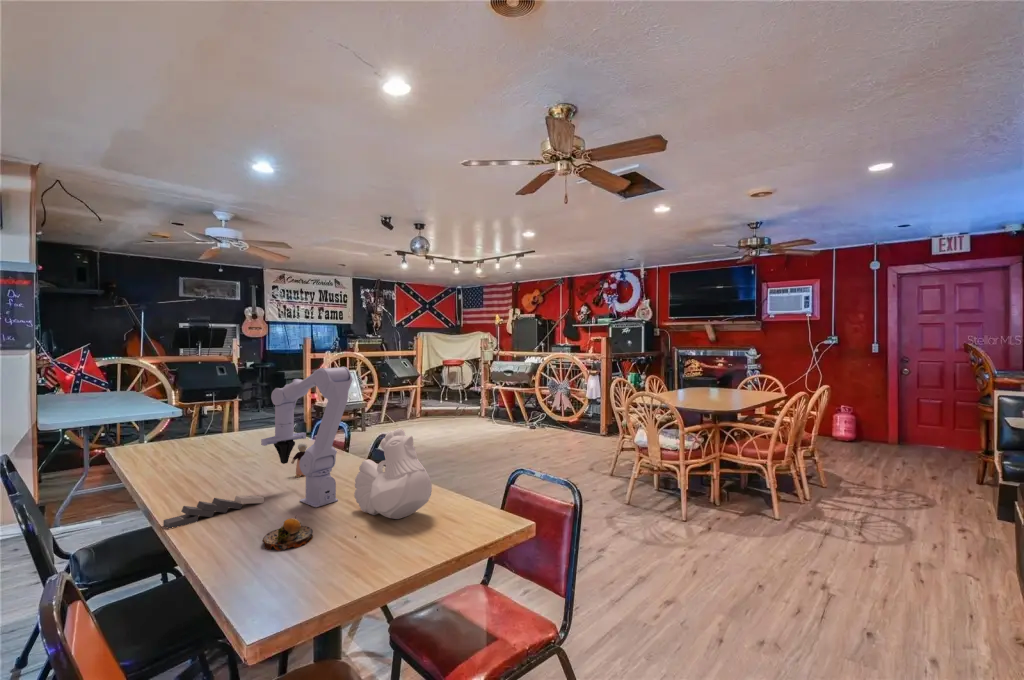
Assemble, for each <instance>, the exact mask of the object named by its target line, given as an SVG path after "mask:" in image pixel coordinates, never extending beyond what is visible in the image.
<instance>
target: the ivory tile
mask: <svg viewBox="0 0 1024 680" xmlns="http://www.w3.org/2000/svg"><path fill="white" fill-rule="evenodd" d="M264 500H265V497H264V496H260V495H256V494H255V495H254V494H253V495H252V494H251V495H235V498H234V500H233V501H235V502H238V503H240V504H243V505H244V504H263V503H264Z"/></svg>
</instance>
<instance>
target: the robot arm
mask: <svg viewBox="0 0 1024 680" xmlns="http://www.w3.org/2000/svg"><path fill="white" fill-rule="evenodd" d="M353 379H354V378H353V377H352V373H351V371H350V369H349V368H348V367H346V366H339V367H326V368H325V367H319V368H318V369H316V370H314V371H313V373H312V374H310V375H309V376H307V377H306V378H304V379H301V378H294V379H292V381H291V382H290V383H287V384H285V385H284V386H283V387H281V388H280V387H275V388H274V389H273V390H272V392H271V396H270V398H271V402H272V404H273V405H274V426H275V427H274V435H273V436H270V437H267V438H261V439H260V441H261V442H260V443H261V446H265V447H266V446H268V445H273V446H274V447H275V450H276V451H277V453H278V454H277V455H278V456H279V460H280V464H283V465H284V464H289V458H290V455H291V452H292V451H293V448H294V446H295V445H296V441H297V440H302V439H303V440H305V439H307V432H304V431H303V432H294V431H295V430H294V429H295V427H294V426H295V424H294V423H295V417H294V416H295V415H294V413H295V411H294V410H295V409H296V405H297V401H298V399H300V398H303V397H304V396H306V395H307V394H308V393H309V391H310V389H312V388H315V387H317V389H318V390H319V392H320V394H321V395H322V397H323V398H325V399H326V400H327V403H326V406H325V409H324V412H323V415H322V417H321V422H320V424H319V428H318V430H317V434H316V437H315V440H314V443H313V444H311V445H310V446H309V447H307V448H306V450H305V454H304V455H303V456H302V457H301V459H300V463H299V466H300V470H301V472H302V473H303V475H306V476H305V497H304V498H302V499H299V502H301V503H303V504H306V505H309V506H311V507H312V508H313V507H314V508H318V507H322V506H325V505H328V504H331V503H335V502H338V501H339V498H336V495H337V494H336V492H337V491H336V489H337V488H336V487H337V483H336V479H335V478H334V477H333V476H332V475H331V472H333V471H332V470H333V468H334V467H335V465H336V463H337V461H336V455H337V453H338V451H337V450H336V448H335V447H334V446H333V444H334V442H335V438H336V435H337V433H338V431H339V430H338V429H339V426H340V424H341V420H342V418H343V415H344V413H345V410H346V406H347V403H348V401H349V400H348V399H349V391H350V389H351V385H352V383H353Z"/></svg>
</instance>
